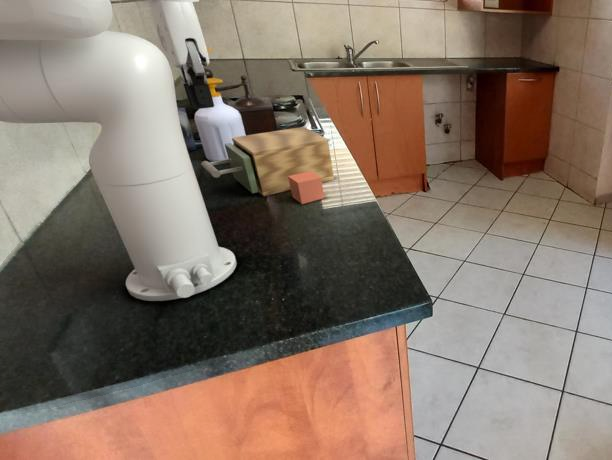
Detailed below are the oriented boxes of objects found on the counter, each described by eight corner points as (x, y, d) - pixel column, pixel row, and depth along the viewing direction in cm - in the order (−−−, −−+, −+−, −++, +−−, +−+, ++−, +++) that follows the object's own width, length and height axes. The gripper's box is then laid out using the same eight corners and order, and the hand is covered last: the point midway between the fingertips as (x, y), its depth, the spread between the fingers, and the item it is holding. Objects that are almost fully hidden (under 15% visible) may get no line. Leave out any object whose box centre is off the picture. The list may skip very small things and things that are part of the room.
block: (324, 198, 85) (321, 177, 83) (301, 204, 82) (297, 182, 80) (314, 191, 88) (310, 170, 86) (292, 197, 85) (287, 176, 83)
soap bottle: (258, 155, 104) (232, 48, 93) (218, 165, 98) (185, 50, 86) (238, 148, 108) (210, 44, 97) (199, 157, 102) (164, 46, 90)
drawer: (222, 200, 80) (211, 163, 76) (205, 183, 86) (194, 148, 83) (320, 177, 92) (314, 144, 88) (298, 164, 98) (292, 133, 95)
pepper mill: (277, 131, 123) (263, 65, 114) (281, 142, 115) (266, 71, 106) (214, 136, 116) (194, 66, 107) (213, 148, 108) (191, 73, 99)
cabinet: (263, 196, 84) (252, 152, 80) (242, 179, 91) (231, 137, 87) (334, 179, 94) (327, 139, 90) (310, 164, 101) (303, 126, 97)
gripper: (129, -12, 70) (167, 101, 79) (149, -10, 61) (189, 118, 70) (183, -10, 75) (213, 97, 84) (209, -7, 66) (240, 112, 75)
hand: (202, 106), depth 77 cm, fingers closed
